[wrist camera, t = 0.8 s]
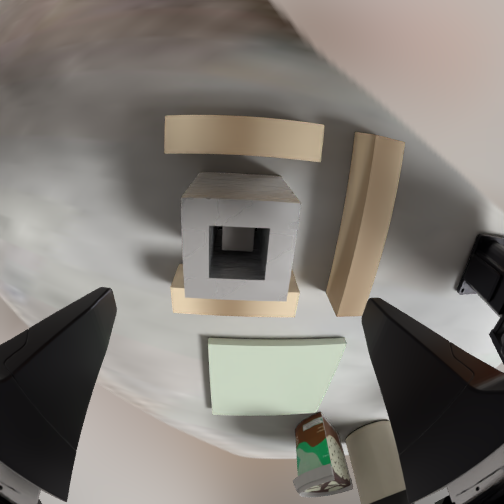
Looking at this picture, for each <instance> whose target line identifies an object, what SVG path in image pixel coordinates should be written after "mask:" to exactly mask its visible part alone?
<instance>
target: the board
mask: <svg viewBox="0 0 504 504" xmlns="http://www.w3.org/2000/svg"><path fill="white" fill-rule="evenodd" d="M346 344H347V343H346V340H345V338H324V339H228V338H209V339H208V355H209V373H210V389H211V403H212V415H233V416H268V415H291V414H305V413H316V412H317V410H318V408H319V406H320V404H321V402H322V400H323V398H324V395H325V393H326V391H327V389H328V387H329V385H330V382H331V380H332V378H333V376H334V373H335V371H336V369H337V366H338V364H339V362H340V359H341V357H342V354H343V352H344V350H345V347H346Z"/></svg>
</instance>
